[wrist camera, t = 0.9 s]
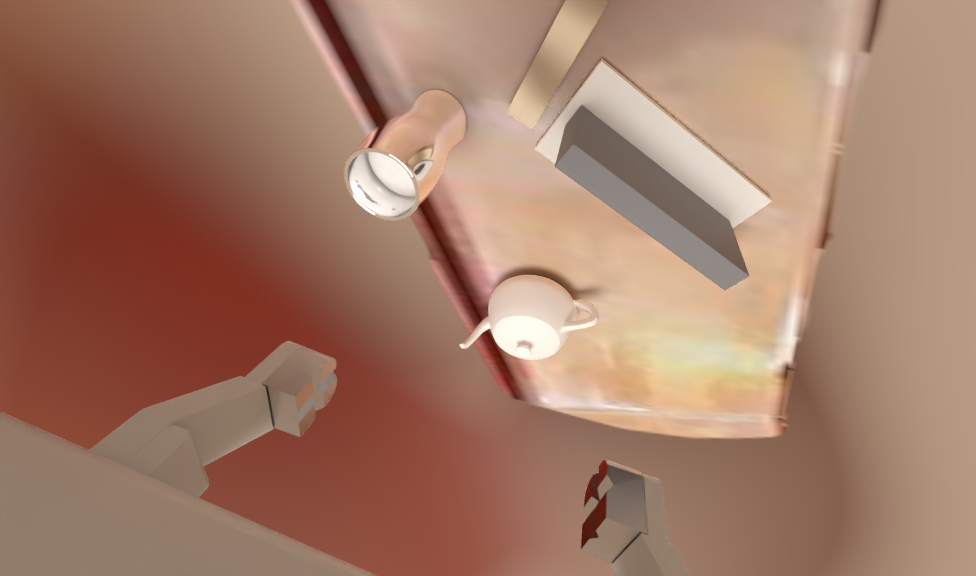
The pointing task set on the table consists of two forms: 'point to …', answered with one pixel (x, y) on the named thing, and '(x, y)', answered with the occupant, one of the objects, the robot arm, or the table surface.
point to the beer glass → (405, 156)
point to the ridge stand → (654, 173)
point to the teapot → (532, 317)
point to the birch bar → (555, 58)
